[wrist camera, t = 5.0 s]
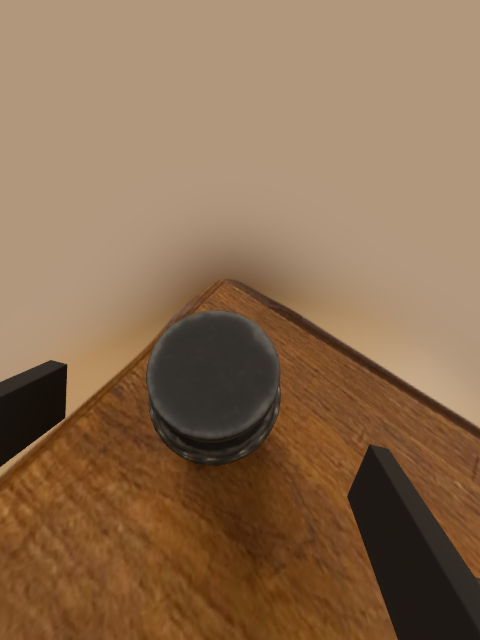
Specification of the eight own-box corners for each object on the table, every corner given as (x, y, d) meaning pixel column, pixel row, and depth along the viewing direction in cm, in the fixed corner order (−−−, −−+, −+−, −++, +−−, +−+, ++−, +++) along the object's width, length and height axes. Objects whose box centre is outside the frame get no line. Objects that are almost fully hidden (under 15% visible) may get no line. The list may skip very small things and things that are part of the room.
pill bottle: (262, 382, 19) (305, 309, 10) (252, 470, 16) (301, 490, 6) (189, 369, 19) (159, 282, 10) (164, 452, 16) (85, 447, 6)
